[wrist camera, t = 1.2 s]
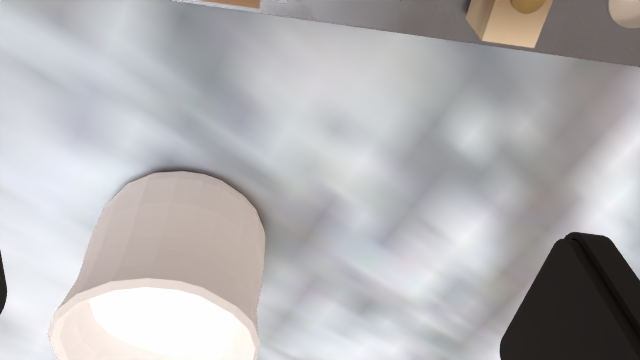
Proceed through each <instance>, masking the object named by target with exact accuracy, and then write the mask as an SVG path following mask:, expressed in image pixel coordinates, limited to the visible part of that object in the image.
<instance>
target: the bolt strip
mask: <svg viewBox="0 0 640 360" xmlns="http://www.w3.org/2000/svg"><path fill="white" fill-rule="evenodd" d="M171 1H178V2H185V3H192V4H199V5H206V6H213V7H220V8H227V9H234V10H242V11H249V12H256V13H263V14H270V15H277V16H284V17H291V18H298V19H305V20H312V21H319V22H326V23H333V24H340V25H347V26H354V27H362V28H369V29H376V30H383V31H390V32H397V33H404V34H411V35H418V36H425V37H432V38H439V39H446V40H453V41H460V42H467V43H474V44H481V45H489V46H496V47H503V48H510V49H517V50H524V51H531V52H538V53H545V54H552V55H559V56H566V57H573V58H580V59H587V60H594V61H601V62H609V63H616V64H623V65H630V66H637V67H640V0H553V2H552V4H551V7H550V9H549V12H548V14H547V17H546V19H545V22H544V24H543V27H542V29H541V32H540V35H539V37H538V40H537V42H536V45H535V47H534V48H529V47H522V46H515V45H508V44H501V43H494V42H487V41H482V40H481V39H480V38H479V36H478V35H477V34H476V32H475V31H474V29H473V28H472V27H471V25H470V24H469V23H468V21H467V20H466V15H467V12H468V9H469V6H470V2H471V0H261V1H260V7H259V9H256V8H249V7H242V6H235V5H228V4H221V3H214V2H207V1H200V0H171Z"/></svg>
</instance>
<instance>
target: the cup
mask: <svg viewBox="0 0 640 360" xmlns="http://www.w3.org/2000/svg"><path fill="white" fill-rule="evenodd" d="M265 239H266V236H265V233H264V229H263V226H262V223H261V221H260V218H259V216H258V213H257V210H256V209H255V208H254V207H253V206H252V204H251V203H250V202H249V201H248V200H247V199H246V198H245V196H243V195H242V194H241V193H239V192H238V191H236V190H235V189H233V188H232V187H230V186H229V185H227V184H226V183H224V182H223V181H221V180H219V179H216V178H214V177H211V176H208V175H205V174H200V173H193V172H186V171H175V172H159V173H152V174H150V175H148V176H145V177H143V178H140V179H138V180H135V181H133V182H130V183H128V184H127V185H126V186H125V187H124V188H123V189H122V190H121V191H120V192H119V193H118V194H117V195H116V196H115V197H114V198H113V199H112V200H110V201H109V202H108V203H107V204H106V205H105V206H104V208H103V211H102V213H101V215H100V217H99V220H98V222H97V224H96V226H95V229H94V231H93V233H92V236H91V239H90V242H89V245H88V248H87V250H86V253H85V257H84V260H83V264H82V267H81V271H80V273H79V276H78V278H77V280H76V282H75V284H74V285H73V287H72V288H71V290H70V292H69V293H68V295H67V296H66V298H65V299H64V301H63V302H62V304H61V305H60V306H59V308H58V309H57V310H56V311H55V312H54V315H53V318H52V321H51V324H50V328H49V331H48V334H47V335H48V337H49V340H50V342H51V345H52V347H53V350H54V352H55V354H56V357H57V359H58V360H257V355H258V351H259V346H260V340H259V335H258V328H257V307H258V301H259V296H260V291H261V286H262V281H263V269H264V256H265Z"/></svg>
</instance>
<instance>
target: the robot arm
mask: <svg viewBox="0 0 640 360" xmlns="http://www.w3.org/2000/svg"><path fill="white" fill-rule="evenodd" d="M6 297H7V286H6V280H5V274H4V269H3V263H2V258H1V252H0V314H1V312H2V310H3V308H4V305H5V302H6ZM500 358H501V360H640V280H639V279H638V277H637V276H636V275H635V273H634V272H633V270H632V269H631V268H630V266H629V265H628V263H627V262H626V260H625V259H624V258H623V256H622V255H621V253H620V252H619V251H618V249H617V248H616V246H615V245H614V243H613V242H612V241H611V240H610V239H609V238H608V237H605V236H602V235H594V234H586V233H579V232H572V233H569V234H568V235H566V237H565V238H564V239H559V240H558V241H557V242H556V243H555V244H554V246H553V248H552V249H551V251H550V253H549V255H548V257H547V258H546V260H545V262H544V264H543V266H542V267H541V269H540V271H539V273H538V275H537V276H536V278H535V280H534V282H533V284H532V285H531V287H530V289H529V291H528V293H527V294H526V296H525V298H524V300H523V302H522V303H521V305H520V307H519V309H518V311H517V312H516V314H515V316H514V318H513V320H512V321H511V323H510V325H509V327H508V329H507V330H506V332H505V334H504V336H503V338H502V340H501V343H500Z"/></svg>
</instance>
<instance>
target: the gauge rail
mask: <svg viewBox="0 0 640 360" xmlns="http://www.w3.org/2000/svg"><path fill="white" fill-rule="evenodd" d="M200 1H207V2H214V3H221V4H228V5H235V6H242V7H249V8H256V9H259V7H260V1H261V0H200Z"/></svg>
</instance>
